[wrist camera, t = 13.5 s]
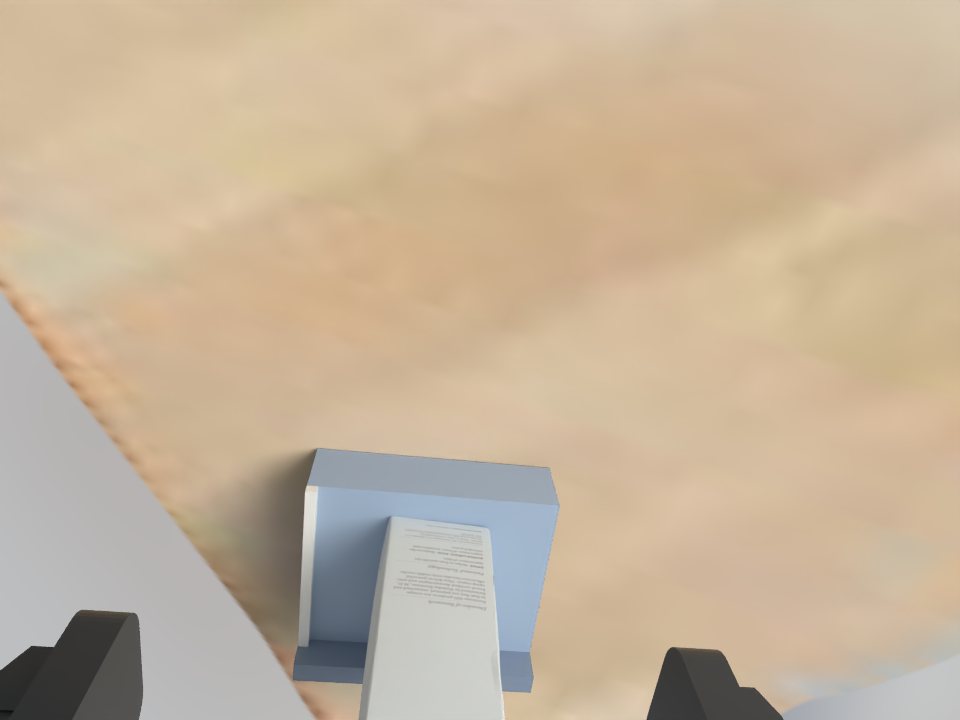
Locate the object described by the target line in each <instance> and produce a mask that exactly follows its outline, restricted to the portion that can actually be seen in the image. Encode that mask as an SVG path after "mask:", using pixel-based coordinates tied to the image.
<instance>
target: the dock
mask: <svg viewBox="0 0 960 720" xmlns="http://www.w3.org/2000/svg"><path fill="white" fill-rule="evenodd" d="M559 506H560V505H559V501H558V498H557V494H556V490H555V486H554V483H553V479H552V475H551V472H550V468H544V467H532V466H520V465H508V464H496V463H485V462H473V461H461V460H449V459H437V458H426V457H414V456H402V455H390V454H378V453H366V452H355V451H343V450H331V449H319V448H318V449H317V452H316V456H315V459H314V463H313V466H312V470H311V473H310V477H309V480H308V483H307V487H306V490H305V506H304V527H303V548H302V569H301V591H300V612H299V633H298V648H297V652H296V657H295V661H294V670H293V680H298V681H317V682H336V683H355V684H363V677H364V670H365V662H366V654H367V646H368V639H369V631H370V623H371V616H372V609H373V601H374V595H375V588H376V582H377V575H378V569H379V564H380V558H381V553H382V548H383V543H384V539H385V534H386V530H387V526H388V522H389V519H390V517H391V516H399V517H407V518H416V519H424V520H431V521H440V522H448V523H456V524H464V525H472V526H480V527H486V528H488V529H489V531H490V540H491V550H492V565H493V576H494V589H495V600H496V614H497V625H498V639H499V656H500V676H501V686H502V691H508V692H527V693H530V692H531V688H532V683H533V678H534V677H533V671H532V664H531V658H530V648H531V643H532V638H533V633H534V628H535V623H536V619H537V614H538V609H539V604H540V599H541V594H542V589H543V584H544V580H545V575H546V570H547V565H548V560H549V555H550V550H551V545H552V541H553V536H554V531H555V526H556V521H557V516H558V511H559Z"/></svg>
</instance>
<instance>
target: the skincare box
mask: <svg viewBox="0 0 960 720" xmlns="http://www.w3.org/2000/svg"><path fill="white" fill-rule="evenodd" d="M359 720H505V717H504V704H503V695H502V686H501V676H500V656H499V639H498V625H497V614H496V600H495V589H494V576H493V565H492V550H491V540H490V531H489V529H488V528H486V527H480V526H472V525H464V524H456V523H448V522H440V521H431V520H424V519H416V518H407V517H399V516H391V517H390V519H389V522H388V526H387V530H386V534H385V539H384V543H383V548H382V553H381V558H380V564H379V569H378V575H377V582H376V588H375V595H374V601H373V609H372V616H371V623H370V631H369V639H368V646H367V654H366V662H365V670H364V677H363V685H362V694H361V704H360V713H359Z"/></svg>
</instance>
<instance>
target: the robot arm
mask: <svg viewBox="0 0 960 720" xmlns="http://www.w3.org/2000/svg"><path fill="white" fill-rule="evenodd" d="M140 648H141V647H140V631H139V620H138V617H137V615H136V614H135V613H126V612H110V611H94V610H80V611H79V612H77V613H76V614H75V616H74V617H73V618H72V620H71V621H70V623H69V624H68V626H67V627H66V629H65V631H64V632H63V634H62V635H61V637H60V639H59V640H58V642H57V643H56V645H55V647H41V646H31V647H30V648H29V649H27V650H26V651H24V653H22V654H21V655H19V656H18V657H17V658H16V659H14V660H13V661H12V662H11V663H9V664H8V665H7V666H6V667H4V668H3V669H2V670H0V720H139V716H140V711H141V706H142V698H143V681H142V664H141V649H140ZM647 720H783V718H782V716H781V715H780V714H779V713H778V712H777V711H776V710H775V709H774V708H773V707H772V706H771V705H770V704H769V702H768V701H767V700H766V699H765V698H764V697H763V696H762V695H761V694H760V693H759V692H758V691H757V690H756V689H755V688H749V687H739V685H738V683H737V680H736V678H735V676H734V674H733V672H732V670H731V668H730V666H729V664H728V661H727V660H726V658H725V656H724V655H723V653H722V652H720V651H719V650H711V649H694V648H677V647H672V648H670V649H669V650H668V651H667V653H666V656H665V659H664V662H663V665H662V669H661V672H660V675H659V679H658V682H657V686H656V689H655V692H654V696H653V699H652V702H651V706H650V709H649V712H648V716H647Z"/></svg>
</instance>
